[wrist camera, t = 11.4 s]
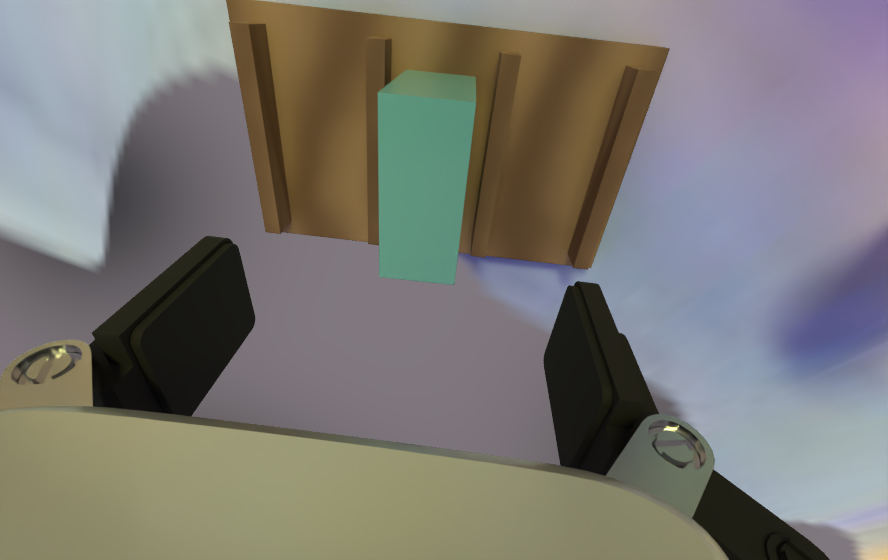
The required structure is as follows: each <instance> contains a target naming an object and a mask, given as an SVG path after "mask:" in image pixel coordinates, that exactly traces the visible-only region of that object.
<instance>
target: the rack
mask: <svg viewBox="0 0 888 560" xmlns="http://www.w3.org/2000/svg"><path fill="white" fill-rule="evenodd" d="M226 2H227V8H228V13H229V19H230V22H229V26H230V31H231V37H232V43H233V48H234V54H235V60H236V65H237V71H238V77H239V83H240V88H241V94H242V100H243V104H244V110H245V117H246V122H247V128H248V134H249V139H250V145H251V151H252V157H253V162H254V168H255V174H256V179H257V185H258V191H259V196H260V202H261V207H262V213H263V219H264V225H265V231H266V232H269V233H278V234H280V233H282V232H286V233H295V234H304V235H312V236H320V237H329V238H338V239H346V240H355V241H363V242H368V244H373V245H379V177H378V92H379V91H380V90H381V89H383V88H384V87H385V86H386V85H388V84H389V83H390V82H391V81H393V80H394V79H395V78H396V77H398V76H399V75H400V74H401V73H403V72H404V71H405V70H416V71H426V72H435V73H445V74H455V75H465V76H474V77H476V108H475V116H474V125H473V133H472V142H471V150H470V158H469V167H468V175H467V183H466V192H465V200H464V208H463V217H462V225H461V233H460V242H459V250H458V253H467V254H471V256H476V257H485V256H492V257H501V258H510V259H518V260H527V261H536V262H544V263H553V264H561V265H570V266H573V268H579V269H588V268H591V266H592V263H593V261H594V258H595V255H596V252H597V249H598V247H599V244H600V241H601V238H602V236H603V233H604V230H605V227H606V224H607V222H608V219H609V216H610V213H611V211H612V208H613V205H614V202H615V199H616V197H617V194H618V191H619V188H620V186H621V183H622V180H623V177H624V174H625V172H626V169H627V166H628V163H629V161H630V158H631V155H632V152H633V149H634V147H635V144H636V141H637V138H638V136H639V133H640V130H641V127H642V124H643V122H644V119H645V116H646V113H647V111H648V108H649V105H650V102H651V99H652V97H653V94H654V91H655V88H656V86H657V83H658V80H659V77H660V74H661V72H662V69H663V66H664V63H665V61H666V58H667V55H668V52H669V48H663V47H655V46H646V45H638V44H629V43H620V42H612V41H603V40H594V39H586V38H577V37H568V36H560V35H551V34H542V33H534V32H525V31H516V30H508V29H499V28H491V27H482V26H473V25H465V24H456V23H447V22H439V21H430V20H421V19H413V18H404V17H395V16H387V15H378V14H369V13H361V12H352V11H343V10H335V9H326V8H318V7H309V6H300V5H292V4H283V3H274V2H266V1H257V0H226Z"/></svg>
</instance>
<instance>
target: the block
mask: <svg viewBox="0 0 888 560" xmlns="http://www.w3.org/2000/svg"><path fill="white" fill-rule="evenodd" d="M475 108H476V77H474V76H465V75H455V74H445V73H435V72H426V71H416V70H405V71H404V72H403V73H401V74H400V75H399V76H398V77H396V78H395V79H394V80H393V81H391V82H390V83H389V84H388V85H386V86H385V87H384V88H383V89H381V90H380V91H379V92H378V177H379V275H380V276H379V277H385V278H394V279H403V280H413V281H422V282H432V283H441V284H450V285H454V283H455V275H456V267H457V258H458V250H459V242H460V233H461V225H462V217H463V208H464V200H465V192H466V183H467V175H468V167H469V158H470V150H471V142H472V133H473V125H474V116H475Z"/></svg>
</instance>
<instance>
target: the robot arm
mask: <svg viewBox="0 0 888 560" xmlns="http://www.w3.org/2000/svg"><path fill="white" fill-rule="evenodd" d="M254 323H255V314H254V310H253V306H252V302H251V298H250V294H249V289H248V285H247V281H246V277H245V273H244V269H243V265H242V260H241V256H240V252H239V249H238V247H237V245H235V244H233V242H232V241H231V240H230V239H228V238H221V237H213V236H206V237H204V238H203V239H202V240H200V241H199V242H198V243H197V244H196V245H195V246H194V247H192V248H191V249H190V250H189V251H188V252H186V253H185V254H184V255H183V256H182V257H180V258H179V259H178V260H177V261H176V262H175V263H173V264H172V265H171V266H170V267H169V268H167V269H166V270H165V271H164V272H163V273H162V274H160V275H159V276H158V277H157V278H156V279H155V280H153V281H152V282H151V283H150V284H149V285H148V286H146V287H145V288H144V289H143V290H142V291H140V292H139V293H138V294H137V295H136V296H135V297H133V298H132V299H131V300H130V301H129V302H127V303H126V304H125V305H124V306H123V307H122V308H120V309H119V310H118V311H117V312H116V313H115V314H114V315H112V316H111V317H110V318H109V319H107V321H105V322H104V323H103V324H102V325H100V326H99V327H98V328H97V329H96V330H95V331H93V332H92V334H93V336H94V338H95V340H94V341H93V342H92V343H91V344H90V345H87V344H86V343H84V342H82V341H78V340H61V341H56V342H51V343H47V344H45V345H42V346H39V347H36V348H34V349H32V350H30V351H28V352H26V353H24V354H22V355H21V356H19V357H18V358H16V359H15V360H14V361H12V362H11V363H10V364H9V365H8V366H7V367H6V369H5V370H4V372H3V374H2V376H1V379H0V560H829V558H828V557H827V556H826V555H825V554H824V553H823V552H822V551H821V550H820V549H819V548H818V547H816V546H815V545H814V544H813V543H812V542H811V541H809V540H808V539H807V538H805V537H804V536H803V535H801V534H800V533H798V532H797V531H796V530H795V529H793V528H792V527H790V526H789V525H788V524H786V523H785V522H784V521H782V520H781V519H780V518H778V517H777V516H776V515H774V514H773V513H772V512H770V511H769V510H768V509H766V508H765V507H763V506H762V505H761V504H759V503H758V502H757V501H755V500H754V499H753V498H751V497H750V496H749V495H747V494H746V493H745V492H743V491H742V490H741V489H739V488H738V487H736V486H735V485H734V484H732V483H731V482H730V481H728V480H727V479H726V478H724V477H723V476H722V475H720V474H719V473H718V472H716V471H715V470H714V462H715V459H714V455H713V451H712V449H711V447H710V446H709V444H708V442H707V441H706V440H705V439H704V437H703V436H702V435H701V434H700V433H699V432H698V431H697V430H696V429H694V428H693V427H692V426H690V425H689V424H688V423H686V422H684V421H682V420H680V419H678V418H676V417H672V416H669V415H664V414H659V413H658V411H657V408H656V406H655V404H654V401H653V399H652V396H651V394H650V392H649V389H648V387H647V385H646V382H645V380H644V378H643V375H642V373H641V371H640V368H639V366H638V364H637V361H636V359H635V356H634V354H633V352H632V349H631V347H630V345H629V342H628V340H627V338H626V337H625V335H623V334H622V333H619V332H618V330H617V327H616V325H615V323H614V320H613V318H612V315H611V313H610V310H609V308H608V305H607V303H606V300H605V298H604V296H603V293H602V291H601V288H600V286H599V284H595V283H587V282H579V281H577V282H576V283H575V284H574V286H568V287H567V290H566V292H565V295H564V298H563V301H562V304H561V307H560V310H559V313H558V316H557V319H556V322H555V324H554V327H553V330H552V333H551V336H550V339H549V342H548V345H547V348H546V351H545V354H544V369H545V375H546V381H547V387H548V393H549V399H550V405H551V411H552V417H553V423H554V429H555V435H556V441H557V447H558V453H559V459H560V465H561V466H559V465H554V464H548V463H540V462H534V461H528V460H521V459H514V458H508V457H501V456H494V455H487V454H479V453H472V452H465V451H457V450H450V449H442V448H435V447H427V446H420V445H413V444H404V443H398V442H390V441H382V440H374V439H366V438H359V437H351V436H343V435H336V434H328V433H320V432H312V431H304V430H297V429H288V428H280V427H273V426H265V425H257V424H249V423H240V422H232V421H224V420H216V419H208V418H200V417H192V414H193V413H194V411H195V410H196V409H197V407H198V406H199V404H200V403H201V401H202V400H203V399H204V397H205V396H206V394H207V393H208V391H209V390H210V389H211V387H212V386H213V384H214V383H215V381H216V380H217V378H218V377H219V376H220V374H221V373H222V371H223V370H224V369H225V367H226V366H227V364H228V363H229V362H230V360H231V359H232V357H233V356H234V354H235V353H236V352H237V350H238V349H239V347H240V346H241V344H242V343H243V342H244V340H245V339H246V337H247V336H248V334H249V333H250V332H251V330H252V328H253V327H254Z"/></svg>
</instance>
